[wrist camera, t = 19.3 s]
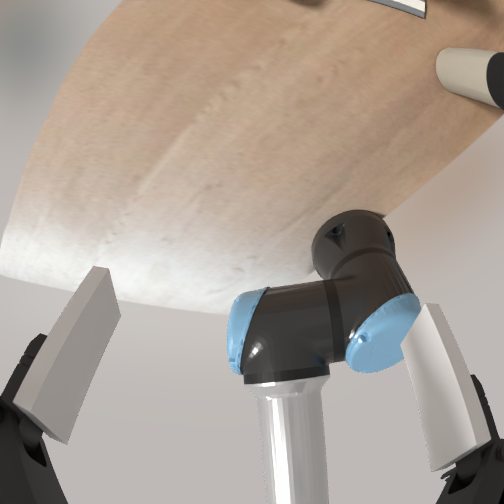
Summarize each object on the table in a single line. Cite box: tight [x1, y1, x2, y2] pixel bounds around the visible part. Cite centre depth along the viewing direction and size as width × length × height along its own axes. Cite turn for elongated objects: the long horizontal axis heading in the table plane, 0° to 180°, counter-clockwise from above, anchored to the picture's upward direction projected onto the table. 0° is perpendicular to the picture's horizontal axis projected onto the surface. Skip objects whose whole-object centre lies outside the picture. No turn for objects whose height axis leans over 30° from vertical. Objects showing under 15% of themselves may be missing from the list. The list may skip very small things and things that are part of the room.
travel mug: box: [436, 47, 504, 110], centre depth 25 cm, size 8×8×18 cm
